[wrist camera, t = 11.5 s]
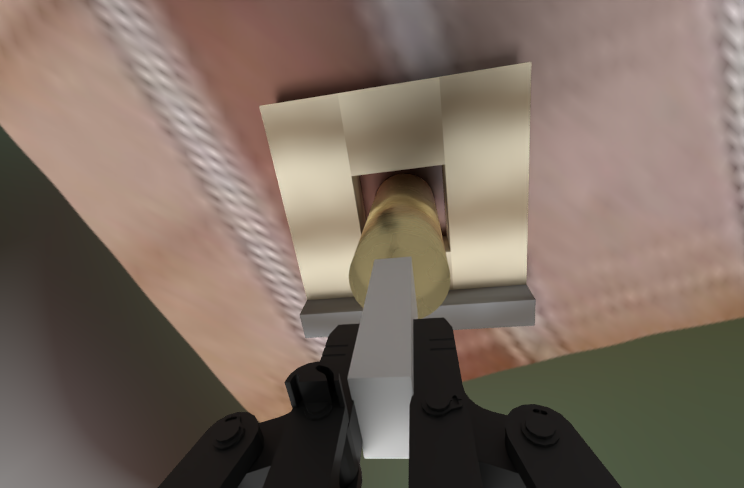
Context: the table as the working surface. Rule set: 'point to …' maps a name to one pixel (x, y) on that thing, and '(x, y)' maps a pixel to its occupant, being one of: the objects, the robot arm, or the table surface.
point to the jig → (406, 151)
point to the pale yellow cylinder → (404, 241)
